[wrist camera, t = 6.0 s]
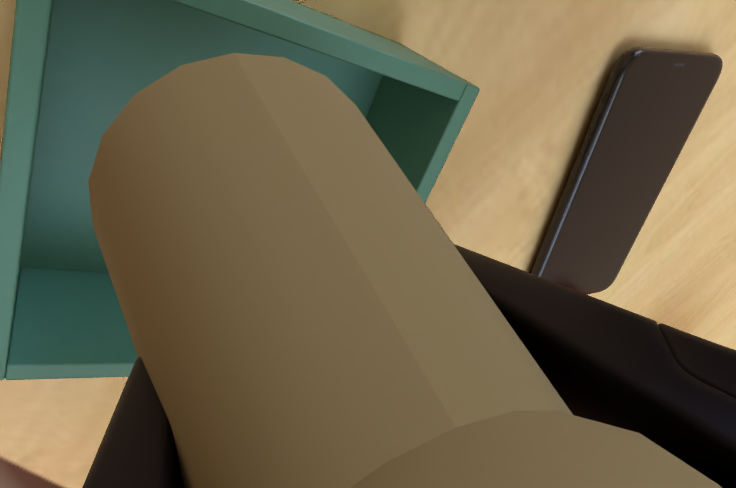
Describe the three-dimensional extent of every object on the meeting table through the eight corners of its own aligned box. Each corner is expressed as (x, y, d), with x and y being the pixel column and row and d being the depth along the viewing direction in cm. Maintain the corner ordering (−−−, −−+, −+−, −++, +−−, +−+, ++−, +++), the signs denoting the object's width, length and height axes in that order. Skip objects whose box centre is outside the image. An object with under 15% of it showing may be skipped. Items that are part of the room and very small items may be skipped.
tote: (401, 44, 21) (481, 88, 17) (302, 290, 26) (345, 371, 21) (39, -100, 14) (24, -86, 10) (-1, 270, 19) (-22, 381, 15)
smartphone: (601, 283, 37) (717, 51, 28) (611, 291, 36) (733, 56, 28) (515, 300, 34) (616, 43, 25) (523, 309, 33) (631, 48, 24)
